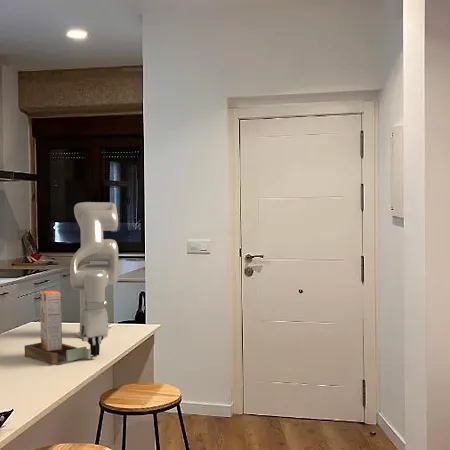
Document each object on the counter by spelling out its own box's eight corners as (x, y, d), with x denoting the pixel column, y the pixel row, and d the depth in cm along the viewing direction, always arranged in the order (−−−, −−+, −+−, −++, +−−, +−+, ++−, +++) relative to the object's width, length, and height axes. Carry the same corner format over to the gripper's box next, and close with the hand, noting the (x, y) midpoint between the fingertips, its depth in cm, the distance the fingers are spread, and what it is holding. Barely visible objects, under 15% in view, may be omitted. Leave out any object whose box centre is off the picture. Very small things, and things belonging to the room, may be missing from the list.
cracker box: (39, 344, 218) (39, 289, 218) (56, 342, 221) (55, 288, 220) (45, 352, 206) (44, 294, 205) (62, 350, 208) (62, 293, 208)
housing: (66, 347, 229) (66, 337, 229) (97, 356, 215) (97, 345, 215) (24, 356, 216) (24, 345, 216) (54, 366, 202) (54, 354, 202)
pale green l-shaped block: (85, 356, 213) (84, 346, 213) (90, 358, 210) (90, 348, 210) (66, 360, 207) (66, 350, 207) (72, 362, 204) (71, 352, 204)
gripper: (105, 302, 219) (105, 349, 220) (71, 307, 208) (71, 357, 209) (117, 304, 214) (117, 352, 215) (83, 309, 203) (83, 360, 204)
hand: (95, 354), depth 212 cm, fingers closed
